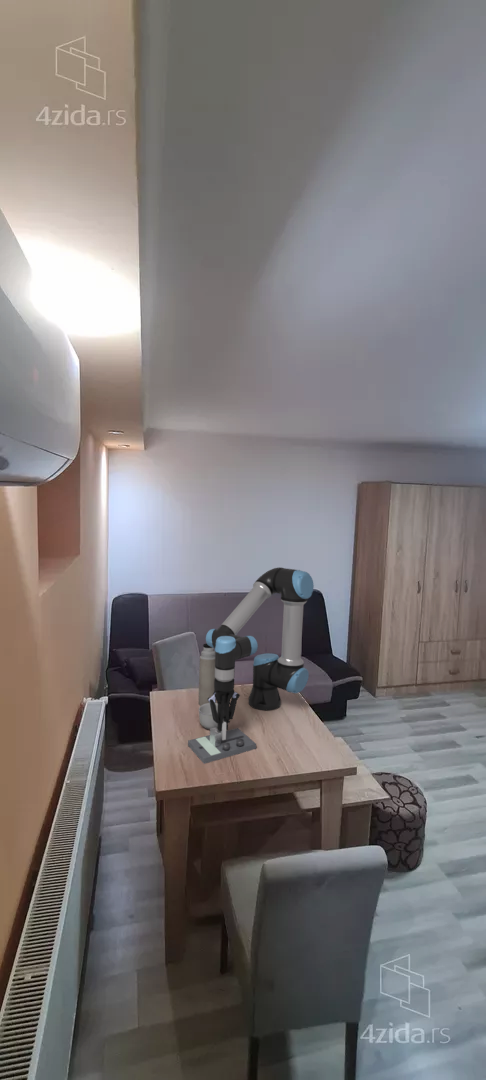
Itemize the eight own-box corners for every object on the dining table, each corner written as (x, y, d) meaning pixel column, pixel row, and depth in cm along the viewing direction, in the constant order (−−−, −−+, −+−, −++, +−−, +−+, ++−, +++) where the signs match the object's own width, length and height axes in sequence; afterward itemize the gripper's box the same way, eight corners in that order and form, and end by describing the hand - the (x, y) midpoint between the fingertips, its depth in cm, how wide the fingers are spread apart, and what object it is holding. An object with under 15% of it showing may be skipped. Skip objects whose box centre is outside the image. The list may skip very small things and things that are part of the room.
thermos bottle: (216, 700, 218) (218, 642, 216) (215, 707, 210) (216, 647, 208) (199, 699, 218) (200, 641, 216) (197, 706, 210) (199, 646, 208)
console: (237, 732, 188) (237, 723, 188) (256, 748, 176) (256, 739, 176) (187, 745, 177) (188, 735, 176) (203, 763, 165) (204, 753, 164)
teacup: (220, 734, 186) (221, 714, 186) (194, 730, 189) (195, 711, 188) (228, 718, 200) (229, 700, 199) (204, 715, 202) (204, 697, 202)
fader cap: (215, 739, 177) (215, 727, 177) (220, 745, 173) (221, 732, 173) (209, 741, 176) (210, 728, 175) (214, 746, 172) (215, 733, 172)
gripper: (234, 672, 181) (232, 730, 183) (204, 677, 174) (202, 737, 176) (244, 678, 174) (242, 738, 176) (213, 684, 168) (211, 746, 169)
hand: (222, 738), depth 176 cm, fingers closed
